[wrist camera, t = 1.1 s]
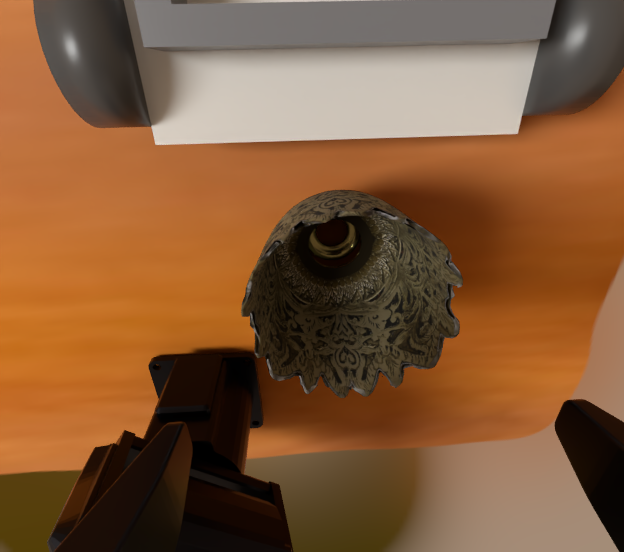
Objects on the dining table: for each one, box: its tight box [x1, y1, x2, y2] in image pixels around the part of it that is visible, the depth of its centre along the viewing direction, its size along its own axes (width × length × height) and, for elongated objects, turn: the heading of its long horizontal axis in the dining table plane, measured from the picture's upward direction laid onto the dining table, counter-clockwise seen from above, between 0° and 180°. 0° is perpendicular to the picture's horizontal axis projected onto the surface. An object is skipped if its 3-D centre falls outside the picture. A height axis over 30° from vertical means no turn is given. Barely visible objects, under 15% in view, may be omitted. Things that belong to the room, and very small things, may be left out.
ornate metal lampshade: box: [241, 190, 463, 398], centre depth 15 cm, size 8×7×8 cm
